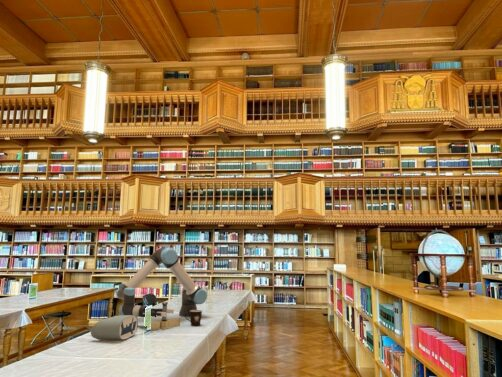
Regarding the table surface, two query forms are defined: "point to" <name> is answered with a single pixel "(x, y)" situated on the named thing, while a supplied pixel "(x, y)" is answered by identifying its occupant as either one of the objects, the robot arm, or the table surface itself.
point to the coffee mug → (195, 317)
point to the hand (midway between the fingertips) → (169, 312)
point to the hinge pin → (164, 310)
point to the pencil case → (115, 328)
